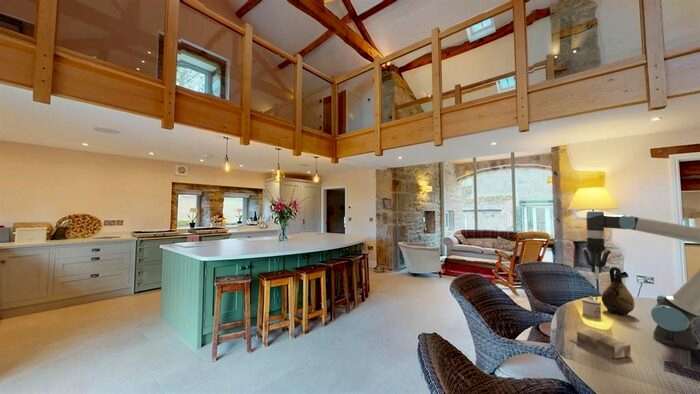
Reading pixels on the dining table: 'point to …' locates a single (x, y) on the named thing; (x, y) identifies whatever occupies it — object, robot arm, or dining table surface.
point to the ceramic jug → (617, 294)
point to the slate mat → (590, 348)
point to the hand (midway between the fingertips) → (596, 278)
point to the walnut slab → (604, 343)
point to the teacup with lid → (591, 307)
